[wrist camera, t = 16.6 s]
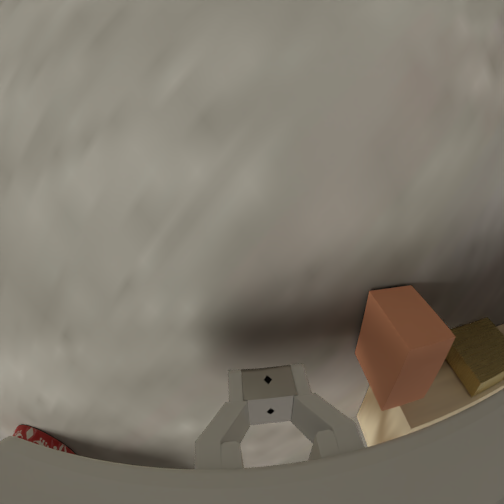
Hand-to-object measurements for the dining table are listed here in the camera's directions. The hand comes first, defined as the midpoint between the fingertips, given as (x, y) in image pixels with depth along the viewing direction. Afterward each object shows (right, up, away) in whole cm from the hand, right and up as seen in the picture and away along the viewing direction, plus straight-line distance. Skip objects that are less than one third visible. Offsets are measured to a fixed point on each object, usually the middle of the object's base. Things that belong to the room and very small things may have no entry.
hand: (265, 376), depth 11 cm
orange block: (+6, +2, +2) cm, 7 cm away
